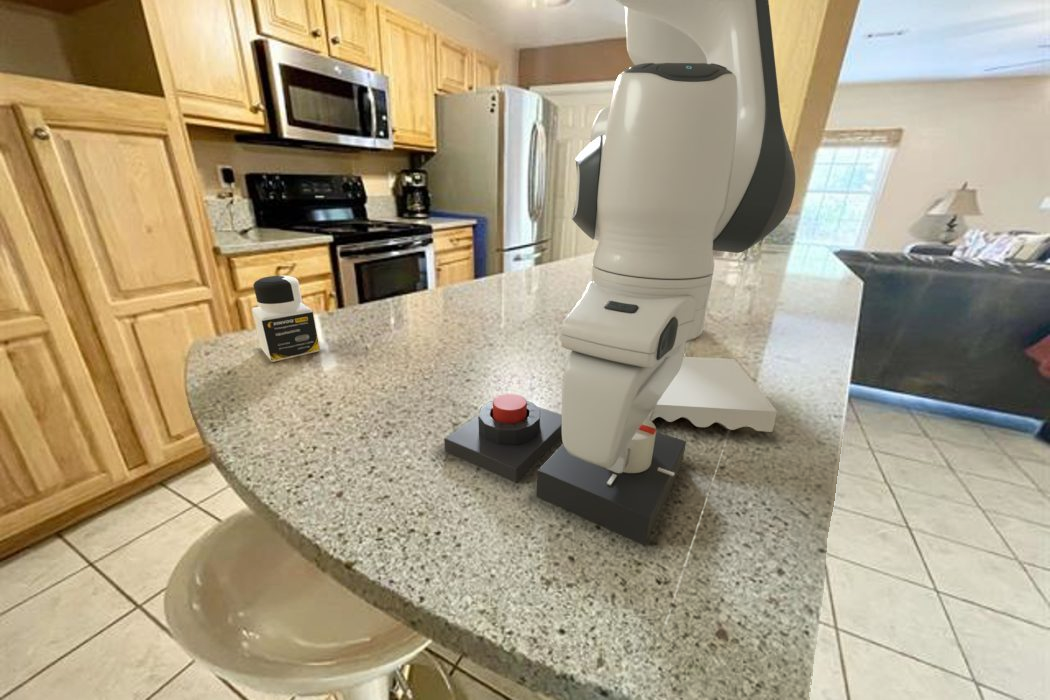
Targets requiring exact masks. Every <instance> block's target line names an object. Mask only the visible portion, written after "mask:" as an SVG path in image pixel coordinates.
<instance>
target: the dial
mask: <svg viewBox="0 0 1050 700" xmlns="http://www.w3.org/2000/svg"><path fill="white" fill-rule="evenodd" d="M656 432H657V427H656V425H655V424H654V422H653V421H650V420H649V419H647V418H646V419H645V421H644V422H643V424H642V425H641V426H640V428H639V429H638V431H637V432H636V434H635V435H634V436H633V438H632V439H631V441H630V442H629V444H628V448H629V449H631V450H630V456H629V463H628V464H627V466H626V468H625V469H624V471H623V472H625V473H640V472H643V471H645V470H647V469H648V468H649V467H650V465H651V461H652V455H653V448H654V442H655V436H656Z"/></svg>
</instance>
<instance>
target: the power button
mask: <svg viewBox="0 0 1050 700" xmlns="http://www.w3.org/2000/svg"><path fill="white" fill-rule="evenodd" d="M492 401H493V418H494V419H495V421H498V422H501V423H510V424H515V423H518V422H522V421H524V420H525V419H526V416H527V401H528V400H527V399H526V398H525V397H524V396H522V395H520V394H516V393H504V394H500V395H497V396H496V397H494V398H493V400H492Z"/></svg>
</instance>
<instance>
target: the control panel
mask: <svg viewBox="0 0 1050 700" xmlns="http://www.w3.org/2000/svg"><path fill="white" fill-rule="evenodd" d="M686 445H687V441H686V440H684V439H681V438H678V437H675V436H671V435H668V434H665V433H662V432H658V431H656V436H655V442H654V448H653V455H652V461H651V465H650V467H649V468H648V469H647V470H645V471H643V472H640V473H625V472H622V473H616V472H613V471H611V470H608V469H606V468H604V467H601V466H598V465H595V464H592V463H590V462H587V461H584V460H582V459H579V458H577V457H574V456H572V455H571V454H569V452H568V451H567V450H566V448H565V447H564V445H563V443H562V444H561V445H560V446H559V447H558V448H557V449H556V450H555V451H554V453H553V454H552V455H551V456H550V457H549V458H548V459H546V461H545V462H544V463H543V464H542V465H541V466H540V467H539V468H538V469H537V471H536V472H537V473H536V474H537V475H536V498H538V499H540V500H543V501H545V502H547V503H548V504H551V505H554V506H555V507H558V508H561V509H562V510H565V511H567V512H569V513H571V514H573V515H576V516H577V517H580V518H581V519H584V520H586V521H589V522H590V523H593V524H595V525H598V526H600V527H602V528H604V529H607V530H609V531H611V532H613V533H615V534H617V535H620V536H621V537H624V538H626V539H628V540H631V541H633V542H635V543H638V544H639V545H642V546H646V544H647V543H648V540H649V538H650V535H651V534H652V531H653V529H654V527H655V525H656V522H657V521H658V518H659V516H660V513H661V512H662V510H663V508H664V505H665V503H666V500H667V499H668V497H669V494H670V493H671V490H672V488H673V486H674V483H675V481H676V479H677V477H678V474H679V473H680V470H681V468H682V466H683V461H684V455H685V450H686Z"/></svg>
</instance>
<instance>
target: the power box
mask: <svg viewBox="0 0 1050 700" xmlns="http://www.w3.org/2000/svg"><path fill="white" fill-rule="evenodd" d="M526 401H527V416H526V419H525V420H524V421H522V422H518V423H515V424H510V423H501V422H498V421H495V419H494V418H493V400H490V401H488V402H487V403H486V404H484V405H483V406H481V407H480V409H479V413H478V414H477V415H475V416H474V417H473V418H471V419H470V420H468V421H467V422H465V423H464V424H462V425H461V426H460V427H458V428H457V429H456V430H454V431H453V432H451V433H450V434H448V435H447V436H446V437H444V438H443V439H444V440H443V441H444V452H446V453H448V454H449V455H452V456H454V457H457V458H458V459H461V460H463V461H466V462H468V463H470V464H472V465H475V466H477V467H478V468H481V469H483V470H486V471H487V472H490V473H492V474H494V475H496V476H499V477H501V478H503V479H506V480H508V481H510V482H512V483H514V484H517V483H519V481H520V480H521V479H523V477H524V476H525V475H526V474H527V473H528V472H529V471H530V470H531V469H532V468H533V467H534V466H535V465H536V464H537V463H538V462H539V461H540V460H541V458H543V457H544V456H545V455H546V453H548V452H549V450H550V449H551V448H552V447H553V446H554V445H556V444H557V442H558V441H559V440H560V439H562V413H558V412H555V411H552V410H548V409H546V408H543V407H540V406H537V405H536V404H535V403H533V402H531V401H528V400H526Z"/></svg>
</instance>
